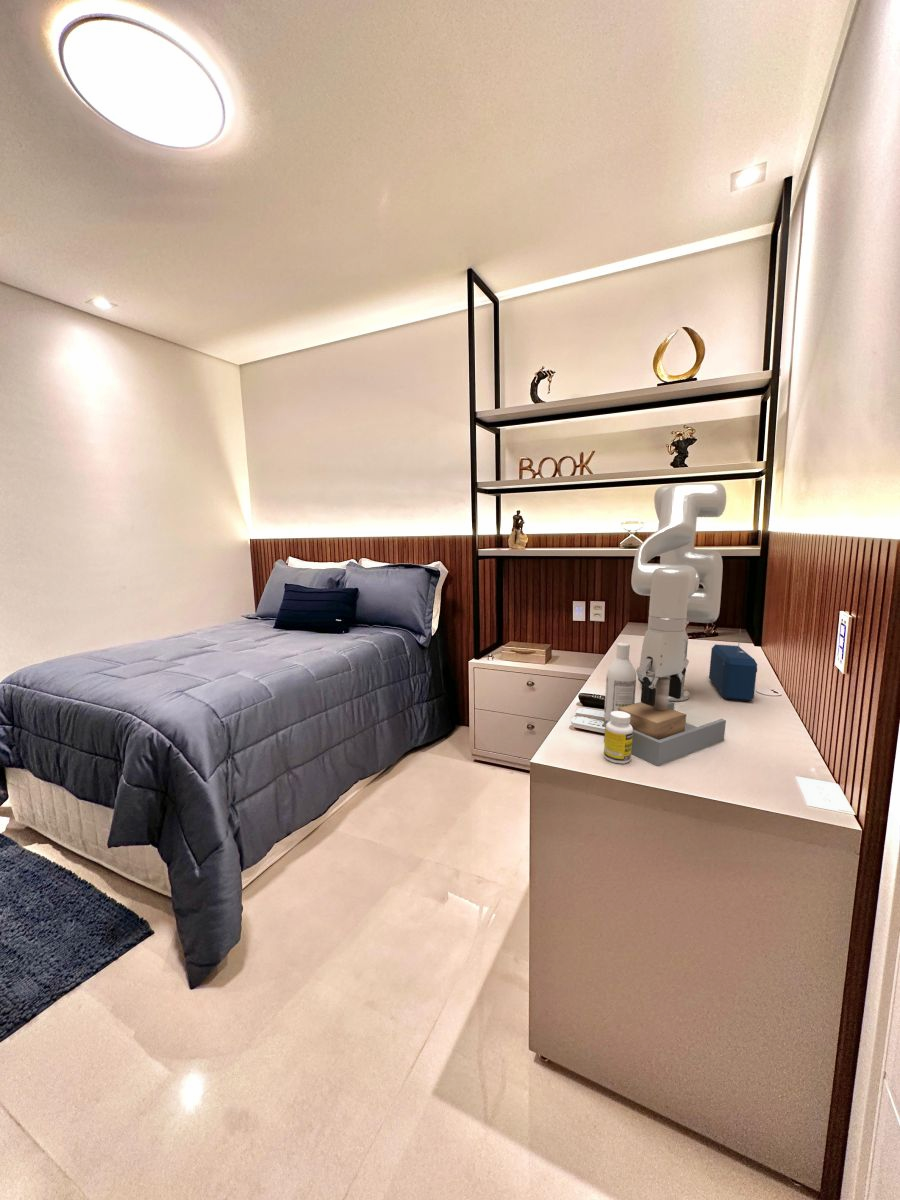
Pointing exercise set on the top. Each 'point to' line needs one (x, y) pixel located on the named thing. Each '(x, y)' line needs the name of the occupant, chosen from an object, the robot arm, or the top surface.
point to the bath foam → (620, 682)
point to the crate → (656, 714)
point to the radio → (733, 672)
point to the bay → (676, 741)
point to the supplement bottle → (618, 738)
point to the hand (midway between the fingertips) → (660, 700)
